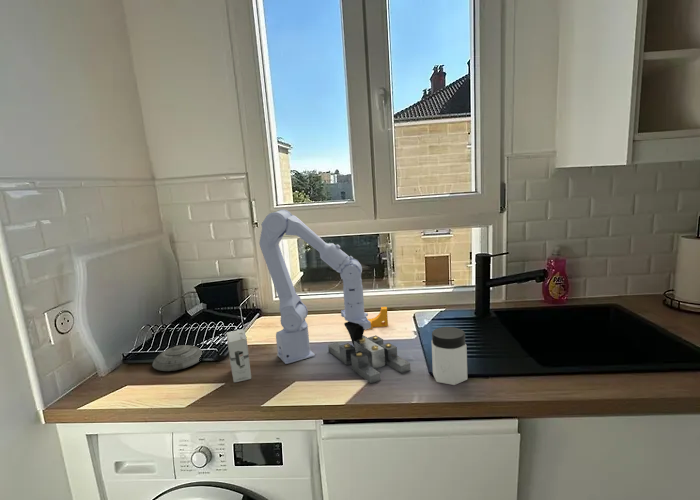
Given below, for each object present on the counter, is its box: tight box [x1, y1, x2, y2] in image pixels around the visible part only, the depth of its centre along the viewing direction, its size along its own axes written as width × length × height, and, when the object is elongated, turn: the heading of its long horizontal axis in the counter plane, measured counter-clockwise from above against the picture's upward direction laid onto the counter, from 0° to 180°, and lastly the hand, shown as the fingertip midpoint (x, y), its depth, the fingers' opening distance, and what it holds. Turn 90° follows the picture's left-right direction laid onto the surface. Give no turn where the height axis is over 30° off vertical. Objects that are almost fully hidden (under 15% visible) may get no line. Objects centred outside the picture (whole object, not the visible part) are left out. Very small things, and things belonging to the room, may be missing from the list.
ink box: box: [226, 328, 252, 383], centre depth 116 cm, size 9×5×12 cm, turn 21°
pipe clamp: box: [366, 306, 389, 330], centre depth 145 cm, size 12×4×6 cm, turn 90°
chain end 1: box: [327, 334, 384, 366], centre depth 125 cm, size 12×12×5 cm
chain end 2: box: [351, 342, 411, 384], centre depth 113 cm, size 12×10×5 cm
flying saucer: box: [151, 344, 203, 372], centre depth 127 cm, size 15×15×6 cm
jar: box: [430, 326, 468, 386], centre depth 106 cm, size 9×8×12 cm
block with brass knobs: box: [353, 336, 386, 370], centre depth 119 cm, size 4×10×6 cm, turn 28°
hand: (357, 345), depth 124 cm, fingers closed
